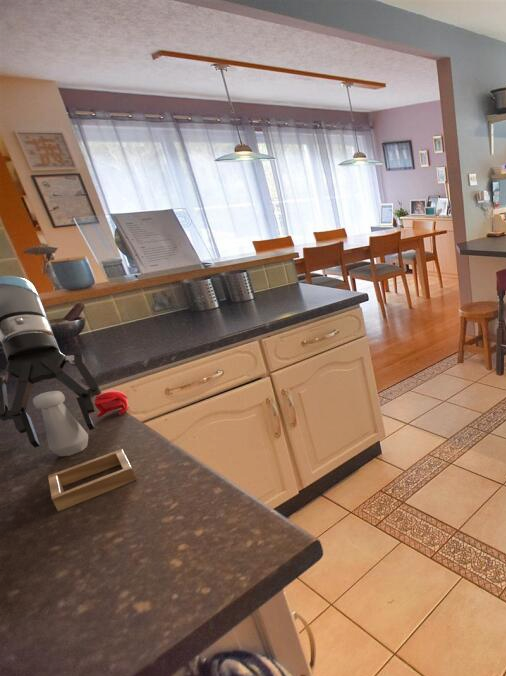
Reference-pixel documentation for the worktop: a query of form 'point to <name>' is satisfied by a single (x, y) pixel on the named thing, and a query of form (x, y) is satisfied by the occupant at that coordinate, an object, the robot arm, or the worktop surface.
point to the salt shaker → (60, 424)
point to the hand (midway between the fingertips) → (63, 435)
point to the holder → (93, 487)
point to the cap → (111, 402)
